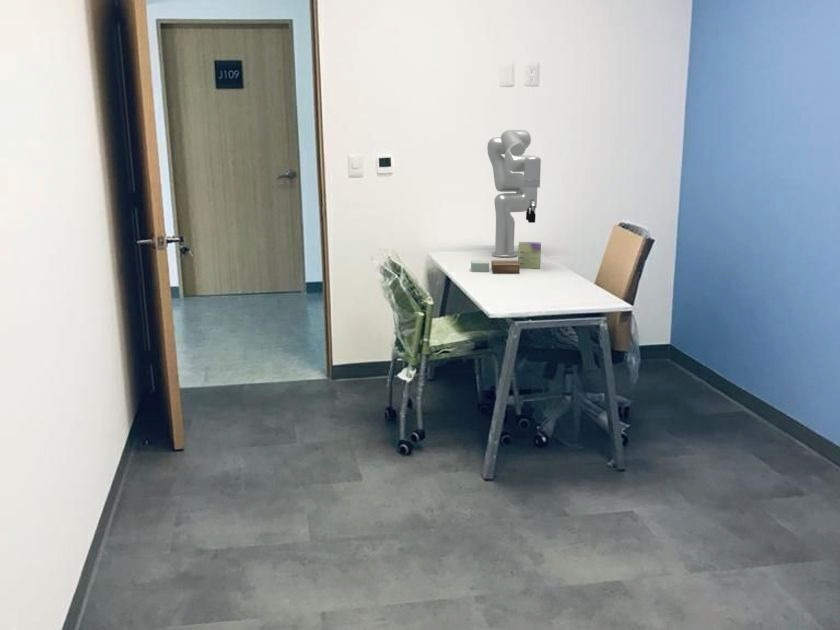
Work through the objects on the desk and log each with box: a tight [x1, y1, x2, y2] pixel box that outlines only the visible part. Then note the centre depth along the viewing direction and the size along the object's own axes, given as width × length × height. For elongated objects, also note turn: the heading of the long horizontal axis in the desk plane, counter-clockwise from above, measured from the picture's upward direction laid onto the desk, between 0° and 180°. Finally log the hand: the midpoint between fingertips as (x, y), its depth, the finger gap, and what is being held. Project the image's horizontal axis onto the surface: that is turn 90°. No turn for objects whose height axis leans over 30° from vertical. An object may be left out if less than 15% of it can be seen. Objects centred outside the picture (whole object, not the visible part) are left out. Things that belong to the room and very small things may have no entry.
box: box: [517, 241, 542, 270], centre depth 376 cm, size 10×6×12 cm, turn 84°
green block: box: [470, 259, 490, 273], centre depth 370 cm, size 8×8×4 cm
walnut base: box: [490, 259, 521, 275], centre depth 368 cm, size 12×12×4 cm
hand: (530, 221), depth 372 cm, fingers open, 9 cm apart
